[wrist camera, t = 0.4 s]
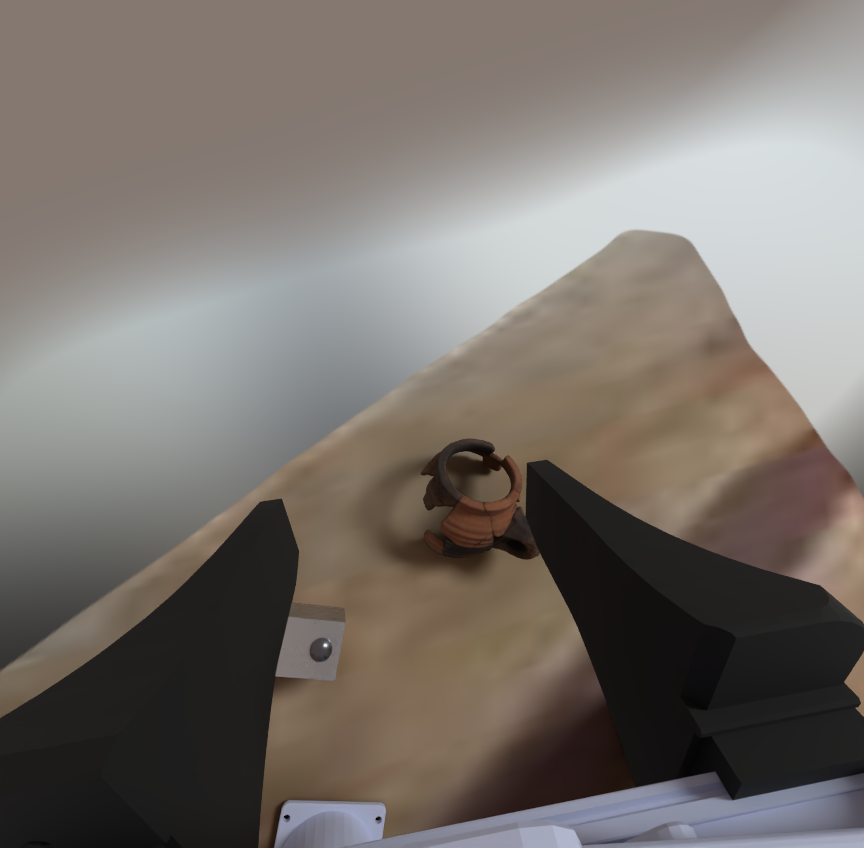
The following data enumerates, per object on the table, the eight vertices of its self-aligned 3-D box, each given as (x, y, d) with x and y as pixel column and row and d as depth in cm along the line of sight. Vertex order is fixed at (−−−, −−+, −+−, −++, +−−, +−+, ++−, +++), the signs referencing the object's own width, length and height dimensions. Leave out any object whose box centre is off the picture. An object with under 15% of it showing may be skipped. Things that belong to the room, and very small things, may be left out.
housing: (344, 607, 36) (345, 622, 31) (335, 658, 35) (334, 681, 31) (246, 597, 34) (232, 611, 30) (234, 650, 34) (218, 673, 29)
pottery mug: (389, 532, 38) (406, 482, 32) (437, 464, 44) (458, 412, 38) (507, 606, 36) (549, 568, 30) (539, 524, 42) (579, 479, 36)
